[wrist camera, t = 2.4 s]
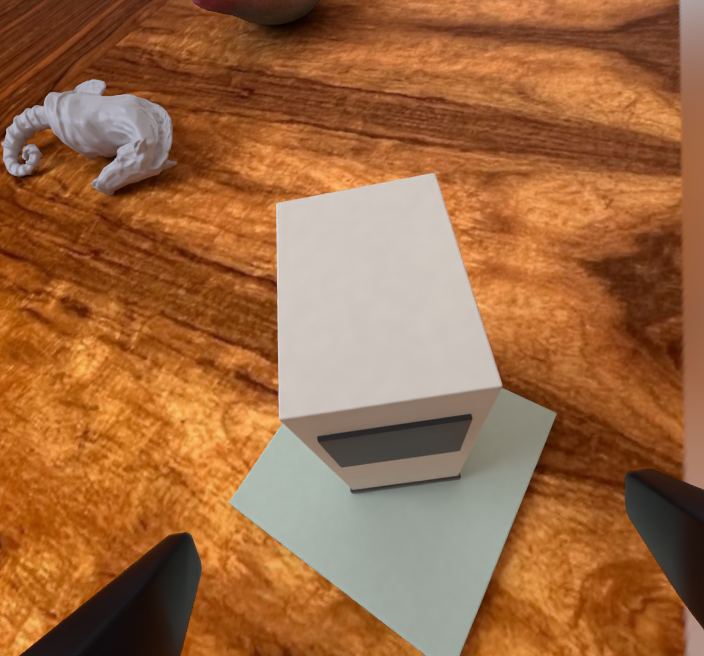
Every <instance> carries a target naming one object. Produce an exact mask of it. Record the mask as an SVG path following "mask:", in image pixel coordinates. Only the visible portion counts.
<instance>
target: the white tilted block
mask: <svg viewBox="0 0 704 656" xmlns="http://www.w3.org/2000/svg"><path fill="white" fill-rule="evenodd" d="M276 218H277V295H278V372H279V420H280V421H281V422H282V423H283V424H284V425H285V426H286V427H287V428H288V429H289V430H290V431H292V432H293V433H294V434H295V435H296V436H297V437H298V438H299V439H300V440H301V441H302V442H303V443H304V444H305V445H306V446H307V447H308V448H309V449H310V450H311V451H312V452H314V453H315V454H316V455H317V456H318V457H319V458H320V459H321V460H322V461H323V462H324V463H325V464H326V465H327V466H328V467H329V468H330V469H331V470H332V471H333V472H334V473H336V474H337V475H338V476H339V477H340V478H341V479H342V480H343V481H344V482H345V483H346V484H347V485H348V486H349V487H350V492H351V493H352V494H356V493H364V492H371V491H379V490H386V489H393V488H401V487H408V486H415V485H423V484H430V483H438V482H445V481H452V480H459V479H460V478H461V475H460V471H461V469H462V467H463V465H464V463H465V461H466V459H467V457H468V455H469V453H470V451H471V449H472V447H473V445H474V443H475V441H476V439H477V437H478V435H479V433H480V431H481V429H482V427H483V424H484V422H485V420H486V418H487V416H488V414H489V412H490V410H491V408H492V406H493V404H494V402H495V400H496V398H497V396H498V394H499V392H500V390H501V388H502V382H501V379H500V375H499V372H498V369H497V366H496V363H495V360H494V357H493V353H492V350H491V347H490V344H489V341H488V338H487V335H486V331H485V328H484V325H483V322H482V319H481V316H480V313H479V309H478V306H477V303H476V300H475V297H474V294H473V291H472V287H471V284H470V281H469V278H468V275H467V272H466V269H465V265H464V262H463V259H462V256H461V253H460V250H459V247H458V243H457V240H456V237H455V234H454V231H453V228H452V225H451V221H450V218H449V215H448V212H447V209H446V206H445V203H444V199H443V196H442V193H441V190H440V187H439V184H438V181H437V177H436V174H435V173H431V174H426V175H421V176H416V177H410V178H405V179H400V180H395V181H390V182H384V183H379V184H374V185H369V186H364V187H358V188H353V189H348V190H343V191H338V192H333V193H327V194H322V195H317V196H312V197H307V198H301V199H296V200H291V201H286V202H281V203H277V204H276Z"/></svg>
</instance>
